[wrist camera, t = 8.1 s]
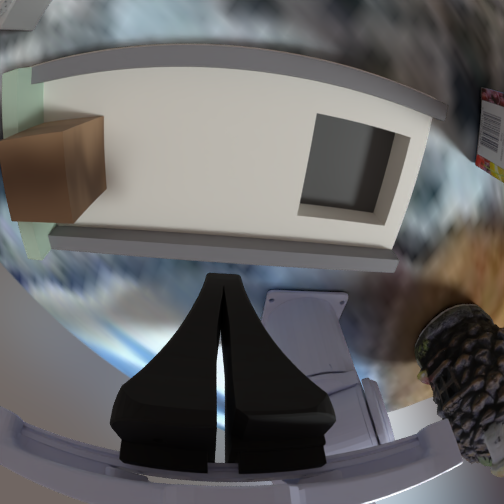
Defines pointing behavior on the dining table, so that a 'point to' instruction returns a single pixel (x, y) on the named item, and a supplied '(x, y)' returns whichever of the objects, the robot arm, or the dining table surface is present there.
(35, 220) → the walnut block
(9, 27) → the lighter
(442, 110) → the trap channel
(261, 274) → the dining table surface
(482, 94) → the snack box
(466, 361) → the pine cone
